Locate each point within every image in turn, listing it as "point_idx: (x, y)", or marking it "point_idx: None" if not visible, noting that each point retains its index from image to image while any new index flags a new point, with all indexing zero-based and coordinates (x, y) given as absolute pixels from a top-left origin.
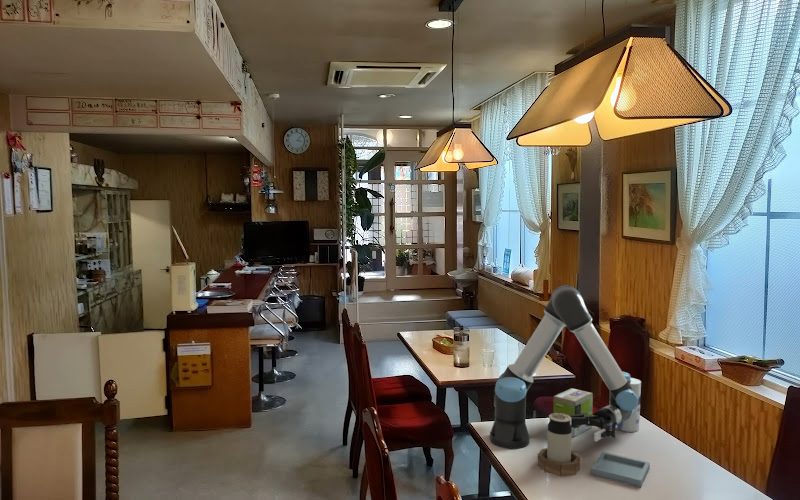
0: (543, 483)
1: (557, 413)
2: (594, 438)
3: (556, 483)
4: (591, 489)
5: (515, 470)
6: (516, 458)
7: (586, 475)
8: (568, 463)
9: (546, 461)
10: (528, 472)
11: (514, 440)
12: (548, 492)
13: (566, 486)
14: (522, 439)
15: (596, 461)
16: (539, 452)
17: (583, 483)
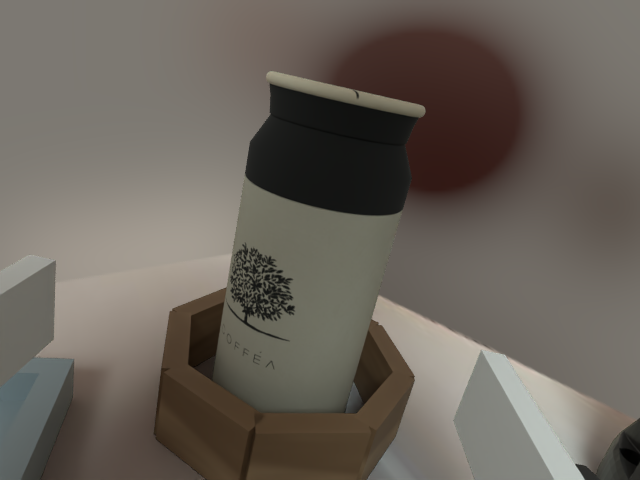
0: None
1: (403, 101)
2: (48, 312)
3: None
4: (66, 298)
5: (387, 316)
6: None
7: (99, 385)
8: (206, 299)
9: None
10: None
11: (637, 451)
12: (219, 259)
13: (176, 291)
14: (633, 474)
15: (19, 463)
16: (388, 338)
17: (108, 322)
